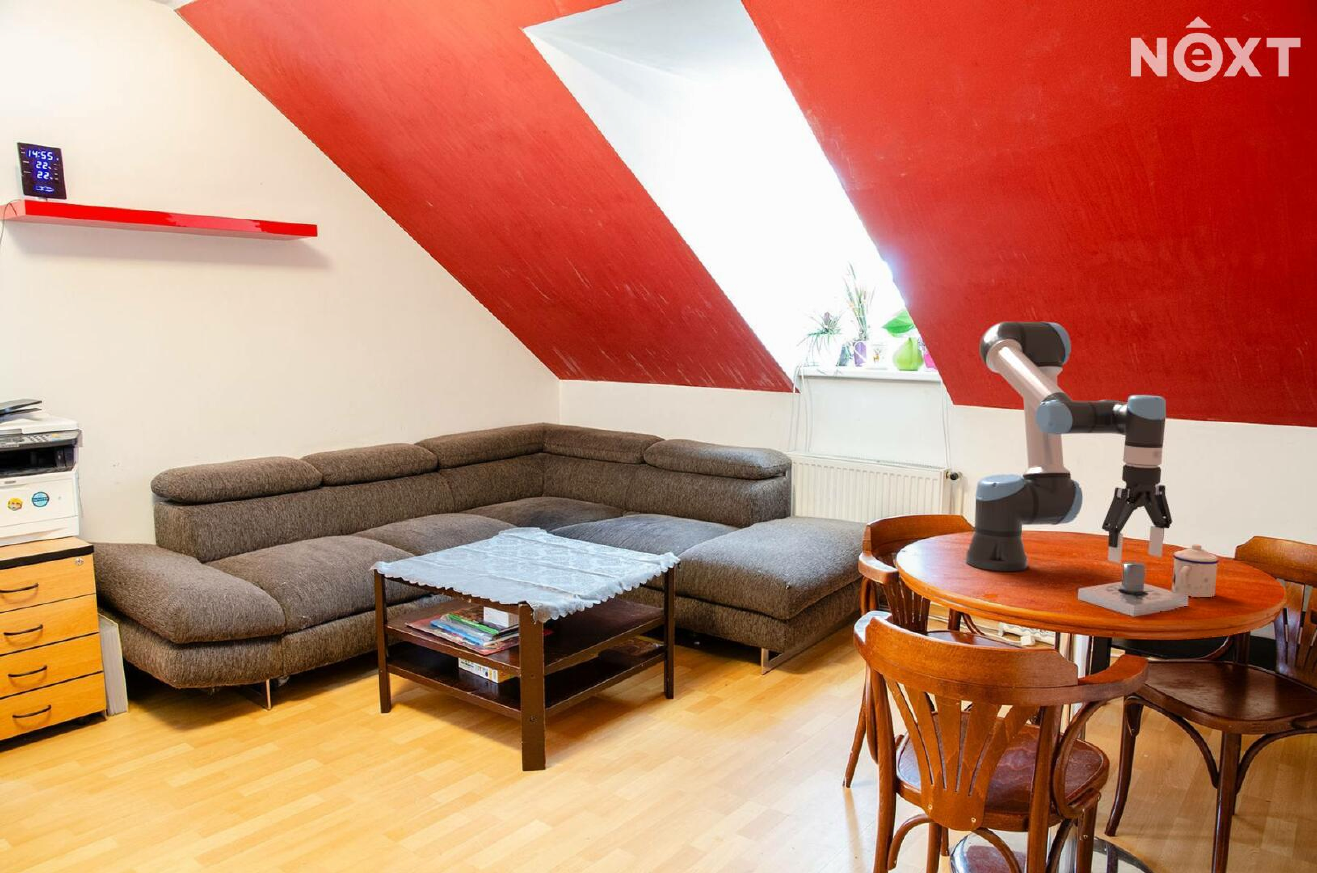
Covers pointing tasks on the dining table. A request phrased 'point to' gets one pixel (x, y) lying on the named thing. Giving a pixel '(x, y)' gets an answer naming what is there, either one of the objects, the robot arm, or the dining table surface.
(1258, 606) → the dining table surface
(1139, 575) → the grey upright prism
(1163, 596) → the tile
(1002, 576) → the dining table surface
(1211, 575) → the teacup with lid
